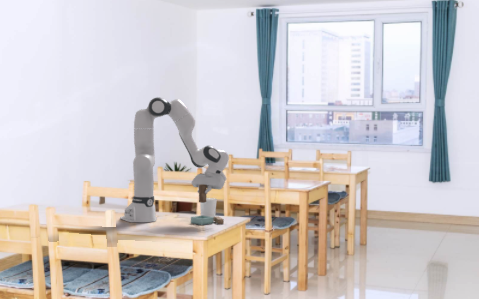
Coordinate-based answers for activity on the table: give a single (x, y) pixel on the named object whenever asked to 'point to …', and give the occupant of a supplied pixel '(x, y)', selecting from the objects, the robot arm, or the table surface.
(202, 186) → the stick
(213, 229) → the table surface
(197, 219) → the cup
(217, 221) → the wick
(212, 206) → the white tapered container
